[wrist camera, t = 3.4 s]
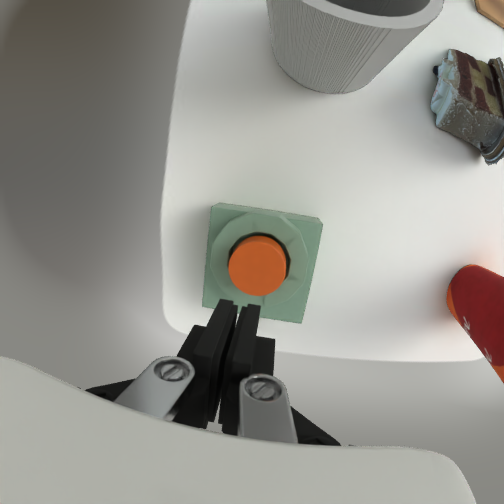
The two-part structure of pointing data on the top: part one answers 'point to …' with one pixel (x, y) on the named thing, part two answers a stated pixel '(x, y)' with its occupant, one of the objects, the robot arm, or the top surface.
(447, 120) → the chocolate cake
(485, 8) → the cork trivet
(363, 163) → the top surface
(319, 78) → the cup
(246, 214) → the button base
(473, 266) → the paper cup
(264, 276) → the power button
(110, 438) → the robot arm
